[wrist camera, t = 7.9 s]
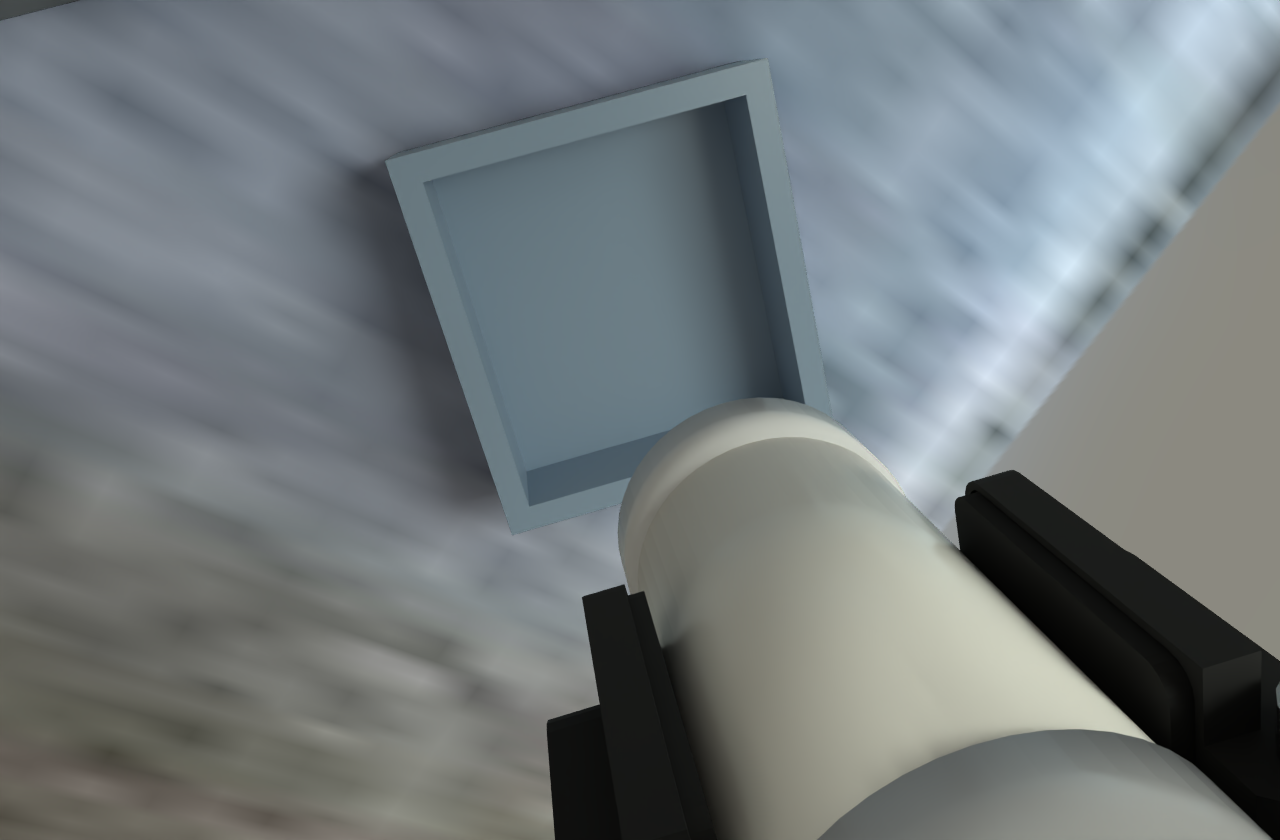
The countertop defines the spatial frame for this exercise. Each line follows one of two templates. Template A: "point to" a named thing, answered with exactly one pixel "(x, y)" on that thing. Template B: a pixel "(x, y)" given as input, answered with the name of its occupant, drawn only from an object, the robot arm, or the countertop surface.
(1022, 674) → the cylinder
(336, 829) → the countertop surface
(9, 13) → the frame
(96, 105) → the countertop surface
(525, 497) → the parts tray
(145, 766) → the countertop surface
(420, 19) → the countertop surface
